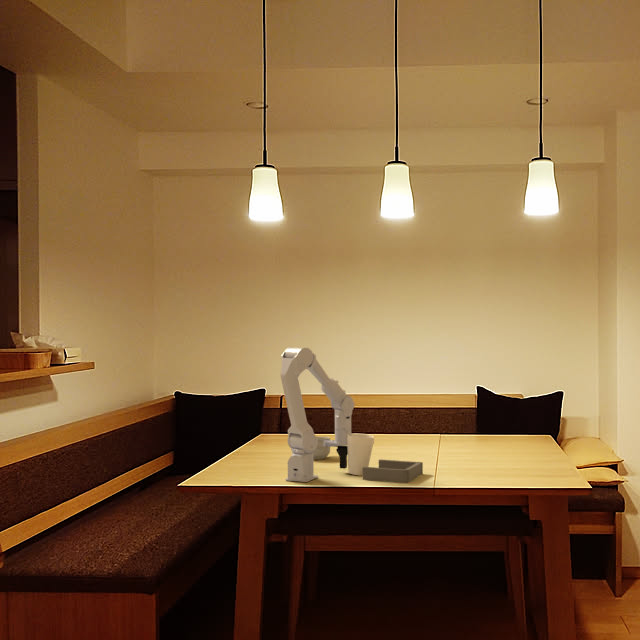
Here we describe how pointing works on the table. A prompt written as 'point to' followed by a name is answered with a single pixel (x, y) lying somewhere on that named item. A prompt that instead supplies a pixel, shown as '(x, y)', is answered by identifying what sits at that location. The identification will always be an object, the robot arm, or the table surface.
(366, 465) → the foam cup
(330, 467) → the table surface
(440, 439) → the table surface
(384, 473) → the bay
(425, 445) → the table surface
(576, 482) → the table surface
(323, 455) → the teacup
